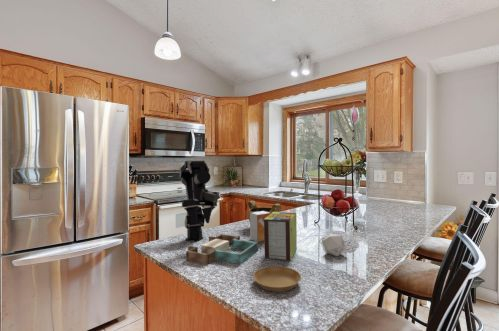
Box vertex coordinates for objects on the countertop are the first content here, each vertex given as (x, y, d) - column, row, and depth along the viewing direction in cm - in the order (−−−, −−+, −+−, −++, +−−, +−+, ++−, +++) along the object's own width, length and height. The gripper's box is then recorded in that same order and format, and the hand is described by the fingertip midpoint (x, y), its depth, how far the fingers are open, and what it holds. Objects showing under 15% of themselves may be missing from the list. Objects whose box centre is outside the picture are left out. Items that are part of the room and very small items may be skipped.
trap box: (180, 259, 103) (180, 250, 102) (215, 240, 126) (215, 233, 126) (234, 269, 92) (234, 259, 92) (262, 246, 116) (262, 239, 116)
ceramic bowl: (288, 229, 145) (288, 202, 145) (268, 235, 133) (267, 206, 133) (259, 223, 161) (259, 198, 161) (238, 228, 149) (238, 201, 149)
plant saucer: (282, 301, 71) (282, 292, 71) (243, 284, 81) (243, 276, 81) (310, 282, 82) (310, 274, 82) (272, 270, 92) (272, 262, 92)
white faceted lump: (327, 260, 101) (343, 241, 99) (314, 243, 108) (329, 226, 106) (338, 262, 106) (354, 245, 104) (325, 246, 113) (339, 230, 111)
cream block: (201, 254, 108) (201, 245, 108) (216, 247, 117) (216, 238, 117) (214, 257, 105) (214, 247, 105) (229, 250, 113) (229, 240, 113)
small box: (257, 242, 122) (257, 214, 122) (249, 239, 128) (249, 212, 127) (271, 239, 127) (270, 212, 127) (263, 236, 132) (263, 210, 132)
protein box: (296, 248, 114) (296, 212, 114) (290, 261, 99) (290, 220, 99) (273, 246, 117) (272, 211, 117) (263, 258, 103) (263, 218, 102)
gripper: (202, 182, 106) (205, 222, 102) (225, 186, 122) (228, 220, 119) (180, 187, 110) (182, 225, 106) (205, 190, 126) (207, 223, 123)
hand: (201, 223), depth 113 cm, fingers open, 9 cm apart
